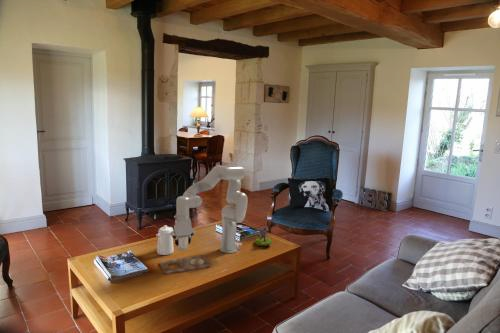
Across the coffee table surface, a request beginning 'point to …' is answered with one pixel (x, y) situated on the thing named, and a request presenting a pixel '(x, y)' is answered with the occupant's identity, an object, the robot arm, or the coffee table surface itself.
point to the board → (184, 264)
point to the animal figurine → (263, 238)
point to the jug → (182, 242)
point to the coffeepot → (165, 241)
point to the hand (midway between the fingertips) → (182, 244)
